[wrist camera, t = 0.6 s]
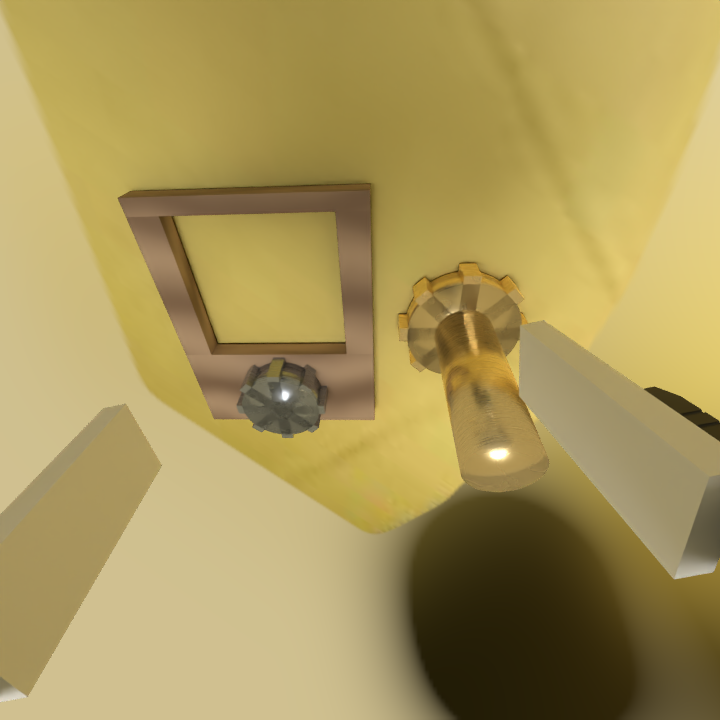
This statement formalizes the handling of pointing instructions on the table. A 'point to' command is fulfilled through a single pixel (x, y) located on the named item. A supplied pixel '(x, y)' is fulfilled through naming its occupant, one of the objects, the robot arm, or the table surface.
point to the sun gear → (283, 398)
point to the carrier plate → (232, 361)
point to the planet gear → (477, 374)
